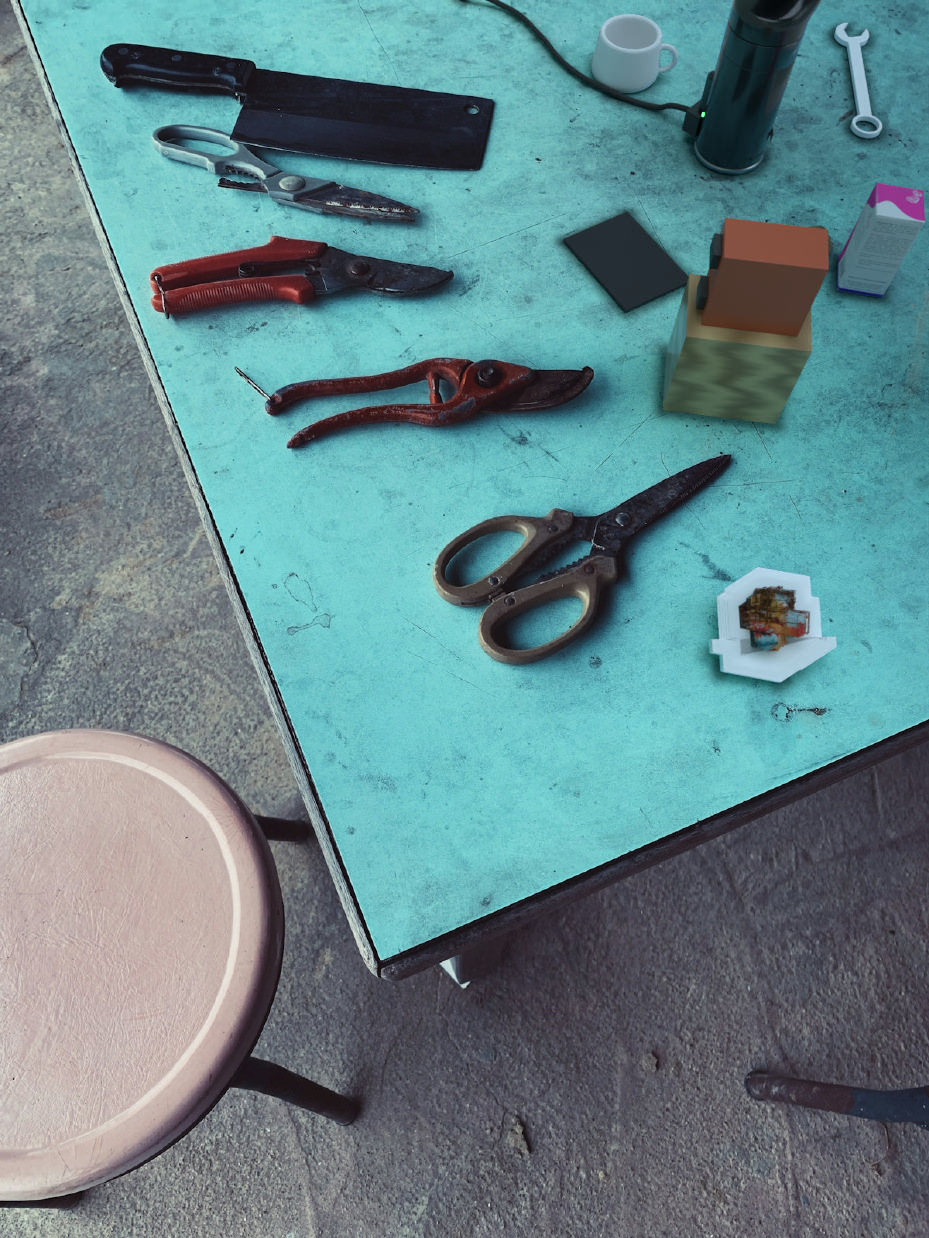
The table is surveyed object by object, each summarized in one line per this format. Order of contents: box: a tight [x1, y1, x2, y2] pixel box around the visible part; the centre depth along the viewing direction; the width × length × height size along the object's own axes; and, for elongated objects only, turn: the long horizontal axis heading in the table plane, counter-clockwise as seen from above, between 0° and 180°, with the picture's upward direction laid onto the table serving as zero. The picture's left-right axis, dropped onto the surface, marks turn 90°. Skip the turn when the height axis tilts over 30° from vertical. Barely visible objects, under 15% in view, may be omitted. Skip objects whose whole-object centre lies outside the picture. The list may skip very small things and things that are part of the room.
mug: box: [591, 13, 679, 94], centre depth 131 cm, size 12×10×6 cm
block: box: [696, 217, 830, 337], centre depth 94 cm, size 11×6×9 cm, turn 82°
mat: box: [562, 211, 689, 314], centre depth 117 cm, size 14×10×1 cm
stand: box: [661, 273, 813, 425], centre depth 103 cm, size 13×9×12 cm
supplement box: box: [836, 182, 926, 299], centre depth 111 cm, size 6×6×12 cm
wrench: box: [833, 22, 883, 139], centre depth 133 cm, size 25×1×5 cm
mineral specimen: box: [708, 566, 838, 683], centre depth 91 cm, size 12×12×7 cm
